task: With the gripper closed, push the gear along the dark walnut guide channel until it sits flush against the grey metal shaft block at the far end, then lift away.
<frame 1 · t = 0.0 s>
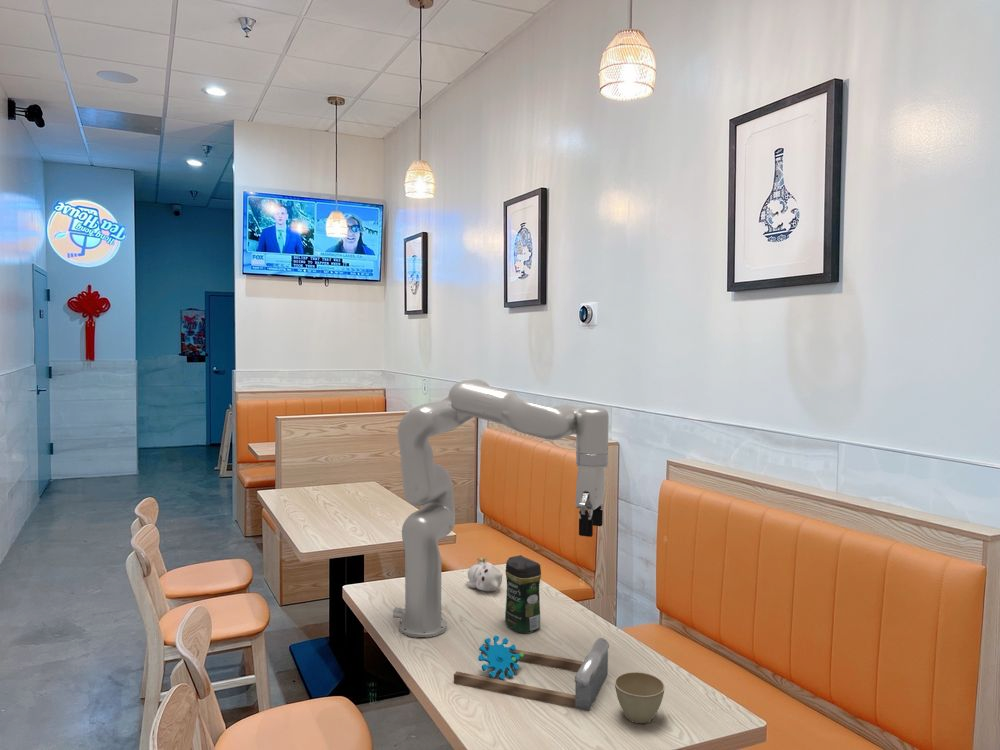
hand: (590, 530, 168), 31 cm above the table, tool pointing down, fingers open, 9 cm apart
coffee jar: (522, 627, 188), on the table
gear: (500, 673, 162), on the table
guide: (525, 677, 160), on the table
cat figurine: (485, 590, 215), on the table
flower pot: (638, 718, 143), on the table
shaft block: (592, 690, 154), on the table
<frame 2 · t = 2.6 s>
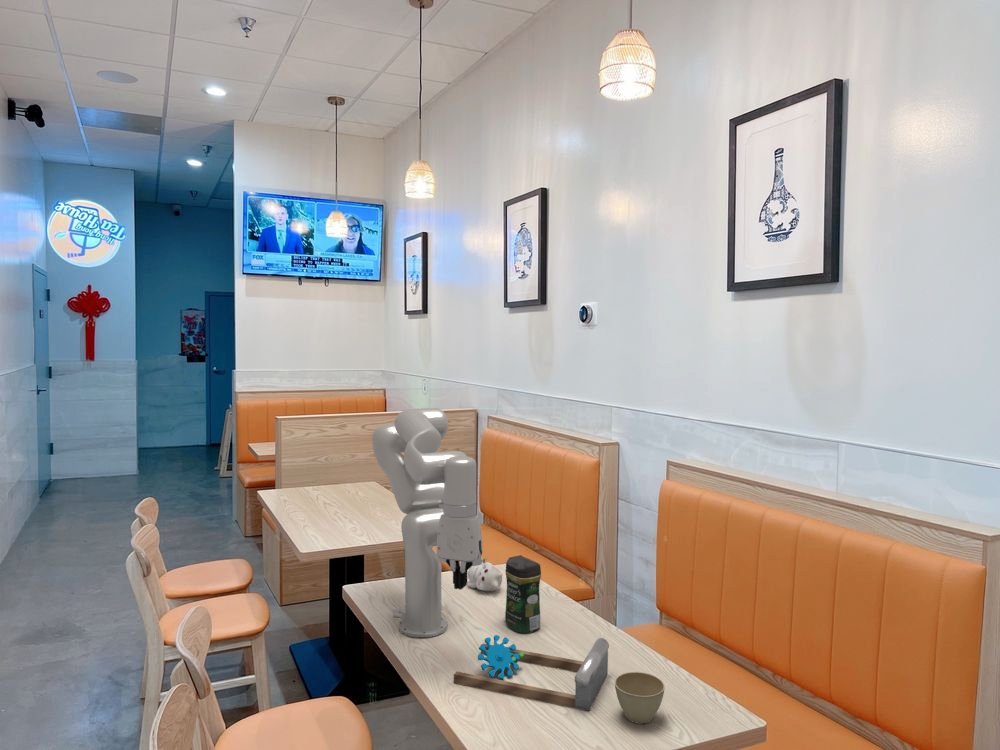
hand: (460, 587, 165), 19 cm above the table, tool pointing down, fingers closed
nothing on the table moved.
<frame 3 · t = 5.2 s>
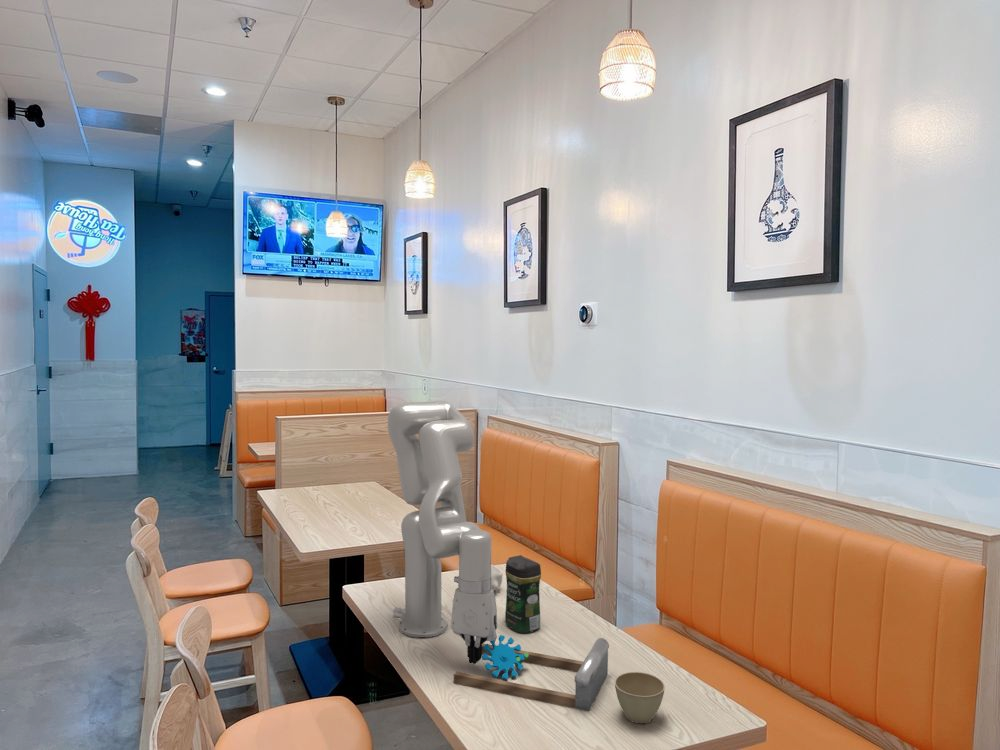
hand: (474, 661, 164), 2 cm above the table, tool pointing down, fingers closed
gear: (505, 673, 162), on the table, touching gripper
everything else where it was.
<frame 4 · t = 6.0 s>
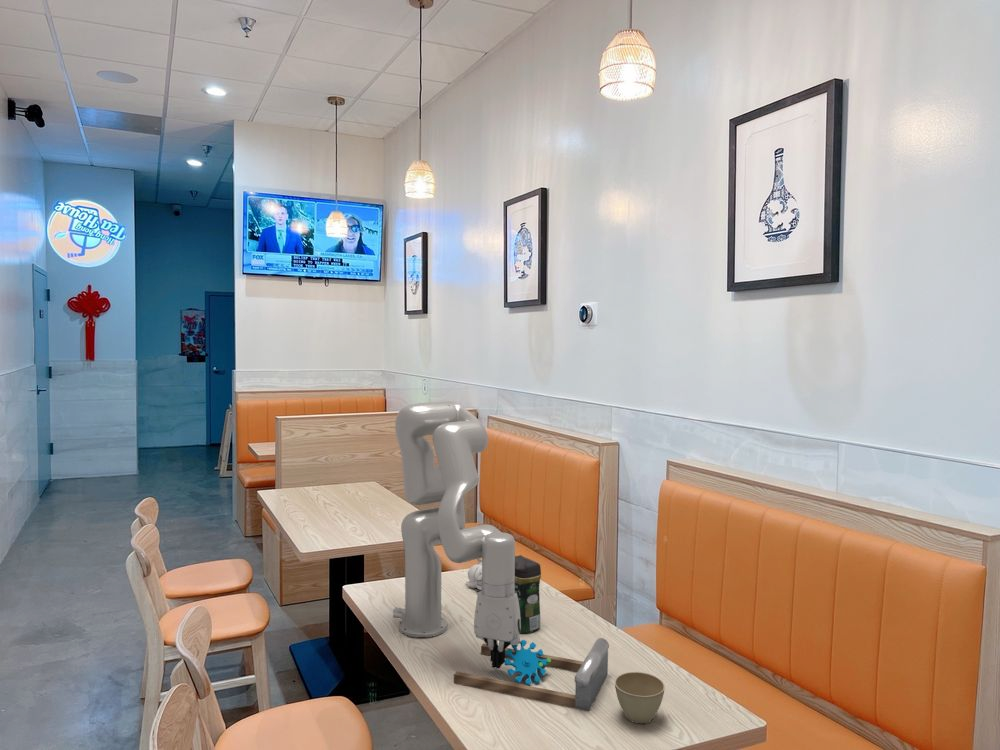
hand: (497, 665, 162), 2 cm above the table, tool pointing down, fingers closed
gear: (527, 679, 159), on the table, touching gripper
everything else where it was.
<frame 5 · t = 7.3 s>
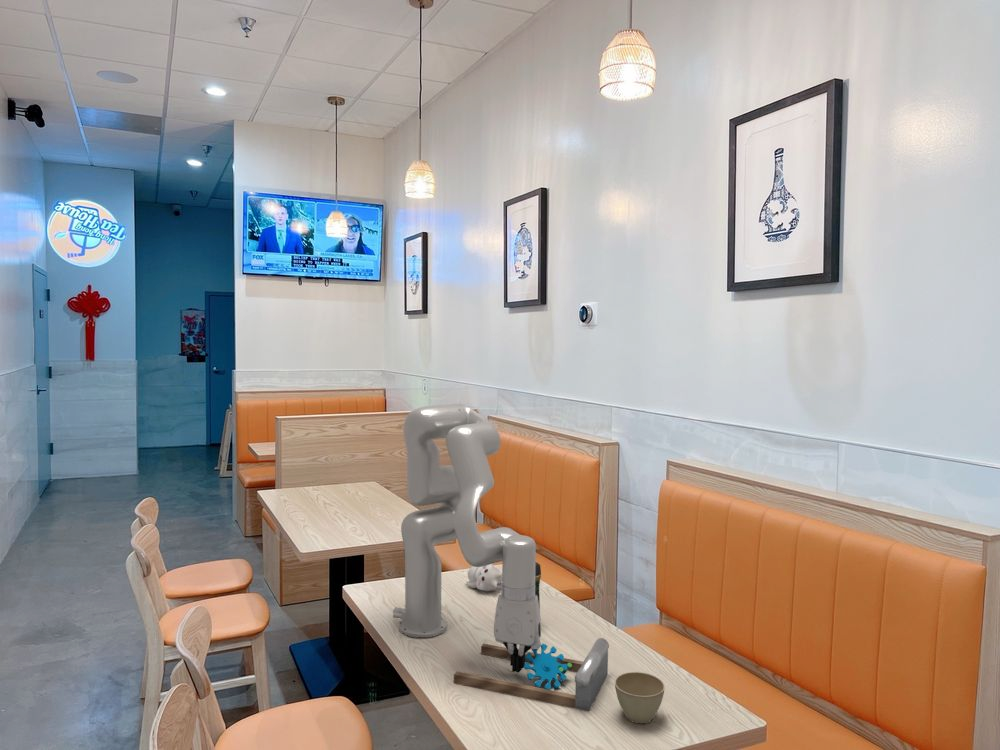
hand: (517, 669, 160), 1 cm above the table, tool pointing down, fingers closed
gear: (547, 683, 157), on the table, touching gripper
everything else where it was.
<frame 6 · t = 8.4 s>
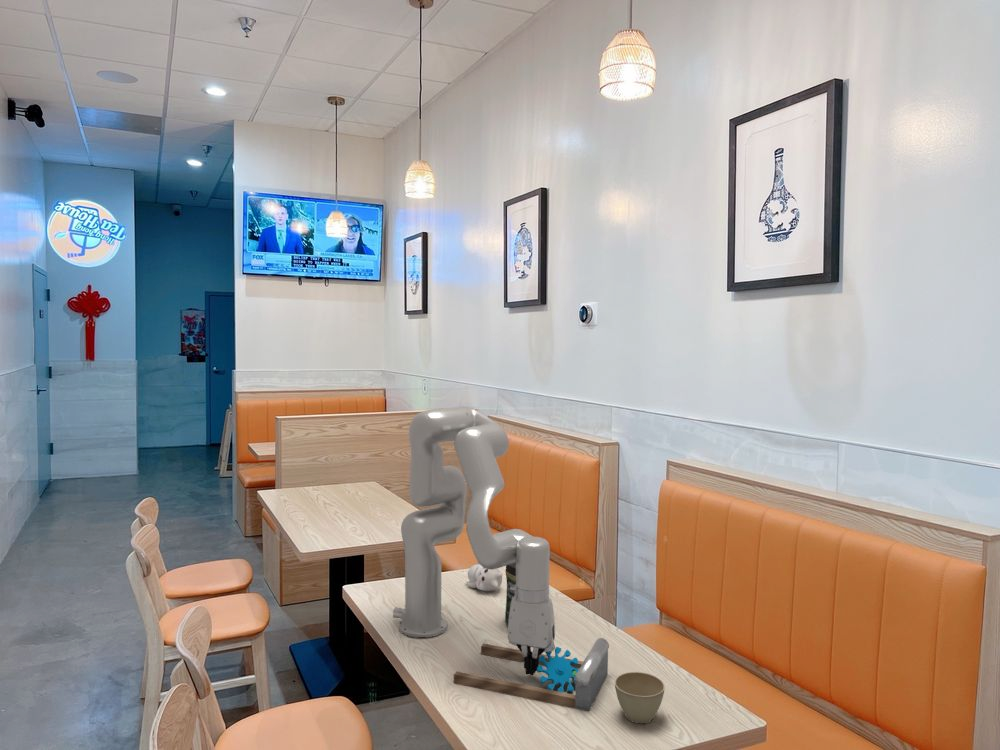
hand: (531, 672, 159), 1 cm above the table, tool pointing down, fingers closed
gear: (561, 687, 156), on the table, touching gripper
everything else where it was.
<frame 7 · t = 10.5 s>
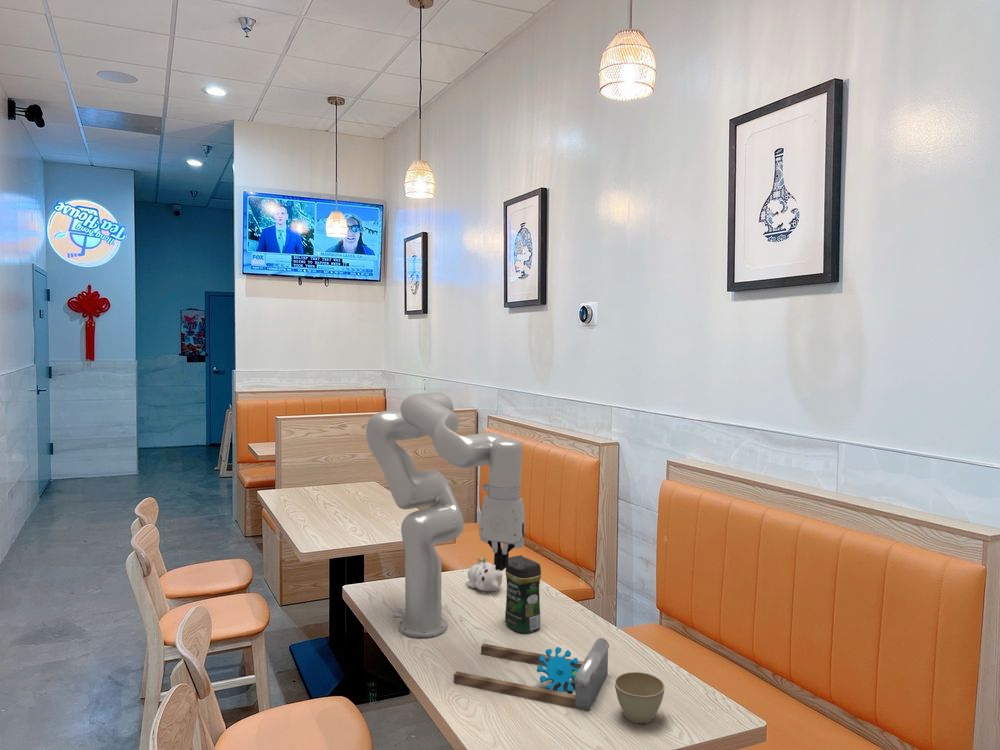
hand: (500, 568, 165), 23 cm above the table, tool pointing down, fingers closed
gear: (561, 687, 156), on the table
everything else where it was.
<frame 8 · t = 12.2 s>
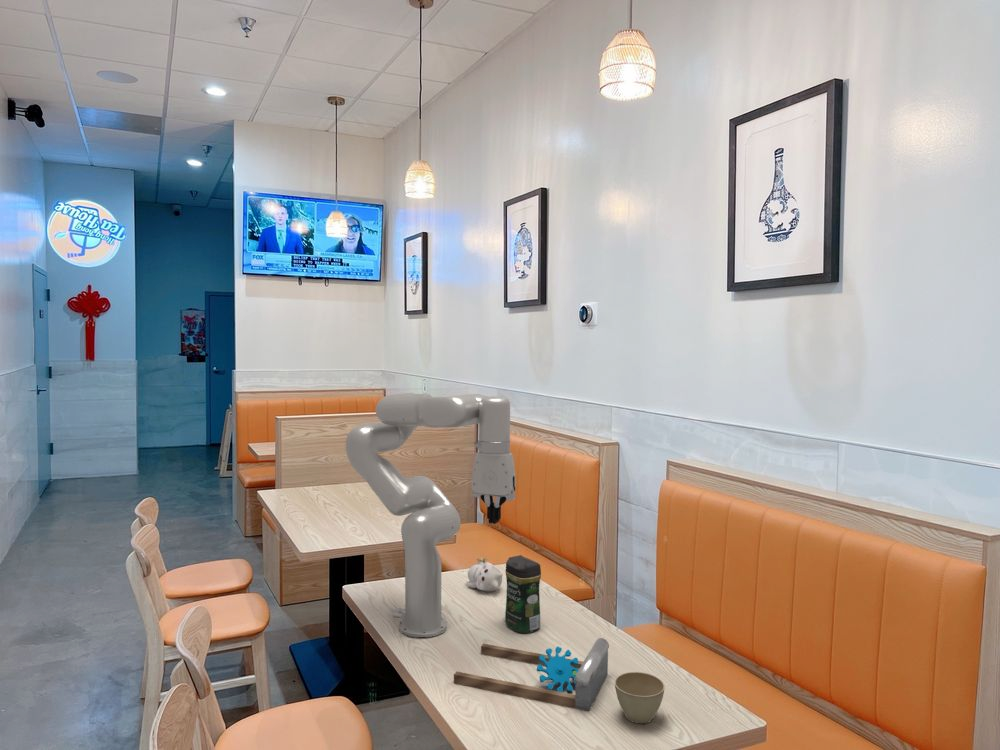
hand: (493, 522, 172), 32 cm above the table, tool pointing down, fingers closed
nothing on the table moved.
at the end: gear 1.0 cm from the target spot on the guide, point 0.0 cm above the guide's base; gear tilted 0°; gear moved 14.6 cm from its start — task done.
